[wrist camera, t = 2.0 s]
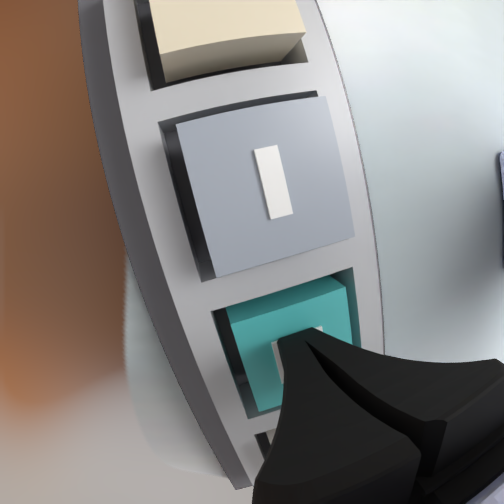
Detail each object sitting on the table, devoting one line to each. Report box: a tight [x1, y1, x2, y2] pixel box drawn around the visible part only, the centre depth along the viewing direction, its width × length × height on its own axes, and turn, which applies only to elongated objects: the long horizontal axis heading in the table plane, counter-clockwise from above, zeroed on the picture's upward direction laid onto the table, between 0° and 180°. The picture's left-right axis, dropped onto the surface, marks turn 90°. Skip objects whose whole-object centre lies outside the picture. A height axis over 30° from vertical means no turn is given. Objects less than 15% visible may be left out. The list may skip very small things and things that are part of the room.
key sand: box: [149, 0, 306, 83], centre depth 8 cm, size 4×4×3 cm
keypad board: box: [78, 0, 385, 490], centre depth 12 cm, size 10×28×3 cm, turn 14°
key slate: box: [176, 96, 355, 278], centre depth 9 cm, size 4×4×3 cm
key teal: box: [225, 275, 353, 412], centre depth 12 cm, size 4×4×3 cm
